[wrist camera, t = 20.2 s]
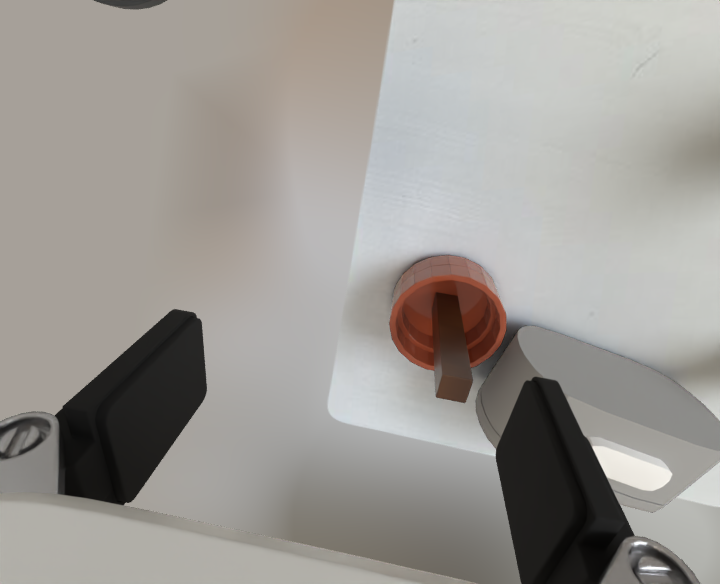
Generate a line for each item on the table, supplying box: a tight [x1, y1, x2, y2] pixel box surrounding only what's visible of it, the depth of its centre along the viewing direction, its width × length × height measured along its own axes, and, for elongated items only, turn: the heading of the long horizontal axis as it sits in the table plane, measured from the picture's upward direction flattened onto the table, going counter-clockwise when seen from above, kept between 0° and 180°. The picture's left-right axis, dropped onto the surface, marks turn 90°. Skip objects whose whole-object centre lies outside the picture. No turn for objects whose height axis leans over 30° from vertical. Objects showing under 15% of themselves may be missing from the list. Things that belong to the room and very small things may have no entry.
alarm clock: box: [476, 326, 720, 513], centre depth 40 cm, size 21×10×13 cm, turn 71°
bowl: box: [389, 255, 506, 371], centre depth 41 cm, size 11×11×6 cm
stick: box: [432, 292, 473, 403], centre depth 37 cm, size 2×2×14 cm
